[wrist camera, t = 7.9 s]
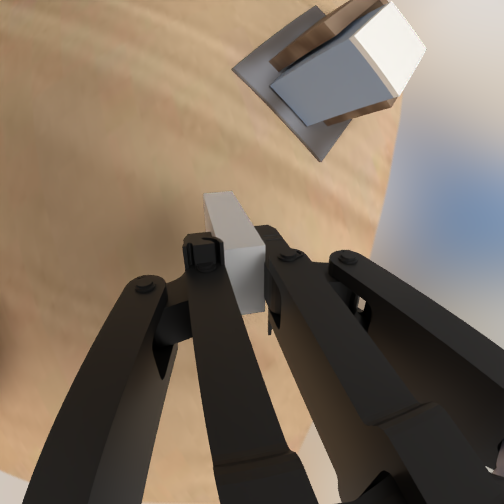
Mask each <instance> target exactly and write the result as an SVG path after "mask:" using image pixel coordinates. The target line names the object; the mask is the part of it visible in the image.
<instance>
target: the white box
mask: <svg viewBox="0 0 504 504" xmlns="http://www.w3.org/2000/svg"><path fill="white" fill-rule="evenodd" d="M425 51H426V47H425V46H424V44H423V43H422V41H421V40H420V38H419V37H418V36H417V34H416V33H415V31H414V30H413V28H412V27H411V26H410V24H409V23H408V22H407V20H406V19H405V18H404V16H403V15H402V14H401V13H400V11H399V10H398V8H397V7H396V6H395V5H394V3H393V2H392V1H391V2H389V3H387V4H385V5H383V6H381V7H379V8H377V9H375V10H373V11H371V12H369V13H368V14H366V15H364V16H362V17H360V18H358V19H357V20H355V21H353V22H351V23H350V24H349V25H348V26H347V27H345V28H344V29H343V30H342V31H341V32H340V33H339V34H337V35H336V36H335V37H333V38H331V39H330V40H328V41H326V42H325V43H323V44H321V45H320V46H318V47H316V48H315V49H313V50H311V51H310V52H308V53H307V54H305V55H304V56H302V57H300V58H299V59H298V60H297V61H296V62H295V63H293V64H292V65H291V66H290V67H289V68H288V69H287V70H286V71H285V72H284V73H283V74H282V75H281V76H280V77H278V78H277V79H276V80H275V81H274V82H273V83H272V84H271V85H270V87H271V88H272V89H273V90H274V91H275V92H276V93H277V94H278V95H279V96H280V97H281V98H282V99H283V100H284V101H285V102H286V103H287V104H288V105H289V107H290V108H291V109H292V110H293V111H294V112H295V113H296V114H297V115H298V116H299V118H300V119H301V120H302V121H303V122H304V123H305V124H306V125H307V126H310V125H313V124H315V123H318V122H321V121H324V120H327V119H329V118H332V117H335V116H338V115H341V114H344V113H347V112H350V111H353V110H356V109H359V108H362V107H366V106H369V105H372V104H375V103H379V102H382V101H385V100H389V99H392V98H395V97H399V96H400V95H401V93H402V91H403V89H404V88H405V86H406V84H407V83H408V81H409V79H410V77H411V76H412V74H413V72H414V70H415V69H416V67H417V65H418V63H419V62H420V60H421V58H422V56H423V55H424V53H425Z"/></svg>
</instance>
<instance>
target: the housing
mask: <svg viewBox="0 0 504 504" xmlns="http://www.w3.org/2000/svg"><path fill="white" fill-rule="evenodd" d="M387 3H389V2H388V1H387V0H350V1H348V2H346V3H345V4H343V5H342V6H340V7H338V8H337V9H335V10H334V11H332V12H331V13H329V14H328V15H325V14H324V13H323V12H322V11H321V10H320V9H319V8H318V7H317V6H316V5H315V6H314V7H312V8H311V9H309V10H308V11H307V12H305V13H304V14H302V15H301V16H299V17H298V18H296V19H295V20H294V21H292V22H291V23H289V24H288V25H287V26H285V27H284V28H283V29H281V30H280V31H279V32H277V33H276V34H275V35H273V36H272V37H271V38H269V39H268V40H267V41H265V42H264V43H263V44H262V45H260V46H259V47H258V48H257V49H255V50H254V51H253V52H252V53H250V54H249V55H248V56H247V57H245V58H244V59H243V60H242V61H241V62H239V63H238V64H237V65H236V66H235V67H234V68H233V69H231V70H232V71H234V72H235V73H236V74H237V75H238V76H239V77H240V78H241V79H242V80H243V81H244V82H245V83H246V84H247V85H248V86H249V87H250V88H251V89H252V90H253V91H254V92H255V93H256V94H257V95H258V96H259V97H260V98H261V99H262V100H263V101H264V102H265V103H266V104H267V105H268V106H269V107H270V108H271V109H272V110H273V111H274V112H275V114H276V115H277V116H278V117H279V118H280V119H281V120H282V121H283V122H284V123H285V124H286V125H287V126H288V127H289V129H290V130H291V131H292V132H293V133H294V134H295V135H296V136H297V137H298V138H299V140H300V141H301V142H302V143H303V144H304V145H305V146H306V147H307V149H308V150H309V151H310V152H311V153H312V154H313V155H314V157H315V158H316V159H317V160H318V161H319V162H322V160H323V159H324V158H325V156H326V155H327V153H328V152H329V151H330V149H331V148H332V146H333V145H334V144H335V142H336V141H337V139H338V138H339V137H340V135H341V134H342V132H343V131H344V130H345V128H346V127H347V125H348V124H349V123H350V121H351V120H352V119H353V118H356V117H359V116H363V115H366V114H369V113H373V112H376V111H380V110H383V109H387V108H391V107H392V105H393V104H394V102H395V100H396V99H397V97H395V98H392V99H389V100H385V101H382V102H379V103H375V104H372V105H369V106H366V107H362V108H359V109H356V110H353V111H350V112H347V113H344V114H341V115H338V116H335V117H332V118H329V119H327V120H324V121H321V122H318V123H315V124H313V125H310V126H307V125H306V124H305V123H304V122H303V121H302V120H301V119H300V118H299V116H298V115H297V114H296V113H295V112H294V111H293V110H292V109H291V108H290V107H289V105H288V104H287V103H286V102H285V101H284V100H283V99H282V98H281V97H280V96H279V95H278V94H277V93H276V92H275V91H274V90H273V89H272V88H271V87H270V85H271V84H272V83H273V82H274V81H275V80H276V79H277V78H278V77H280V76H281V75H282V74H283V73H284V72H285V71H286V70H287V69H288V68H289V67H290V66H291V65H292V64H293V63H295V62H296V61H297V60H298V59H299V58H300V57H302V56H304V55H305V54H307V53H308V52H310V51H311V50H313V49H315V48H316V47H318V46H320V45H321V44H323V43H325V42H326V41H328V40H330V39H331V38H333V37H335V36H336V35H337V34H339V33H340V32H341V31H342V30H343V29H344V28H345V27H347V26H348V25H349V24H350V23H351V22H353V21H355V20H357V19H358V18H360V17H362V16H364V15H366V14H368V13H369V12H371V11H373V10H375V9H377V8H379V7H381V6H383V5H385V4H387Z"/></svg>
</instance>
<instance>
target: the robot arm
mask: <svg viewBox="0 0 504 504" xmlns="http://www.w3.org/2000/svg"><path fill="white" fill-rule="evenodd" d="M203 202H204V216H205V229H206V232H203V233H194V234H188V235H187V236H186V237H185V238H184V240H183V241H184V244H183V247H182V248H183V256H184V264H185V273H184V274H183V275H182V276H181V277H180V278H178V279H176V280H174V281H172V282H169V283H166V282H165V281H164V279H163V278H161V277H159V276H154V275H143V276H141V277H137V278H135V279H133V280H132V281H130V282H129V283H128V284H127V285H126V287H125V288H124V290H123V292H122V293H121V295H120V297H119V298H118V300H117V302H116V303H115V305H114V307H113V309H112V310H111V312H110V314H109V316H108V317H107V319H106V321H105V323H104V325H103V326H102V328H101V330H100V332H99V334H98V335H97V337H96V339H95V341H94V343H93V345H92V346H91V348H90V350H89V352H88V354H87V356H86V358H85V360H84V362H83V364H82V366H81V367H80V369H79V371H78V373H77V375H76V377H75V379H74V381H73V383H72V385H71V387H70V390H69V392H68V394H67V396H66V398H65V400H64V402H63V404H62V406H61V408H60V411H59V413H58V415H57V417H56V419H55V422H54V424H53V426H52V428H51V431H50V433H49V435H48V437H47V440H46V442H45V445H44V447H43V449H42V452H41V454H40V457H39V459H38V462H37V464H36V467H35V469H34V472H33V475H32V477H31V480H30V483H29V485H28V488H27V491H26V494H25V496H24V499H23V502H22V504H141V503H142V498H143V493H144V488H145V484H146V479H147V474H148V469H149V465H150V460H151V456H152V451H153V447H154V443H155V438H156V434H157V430H158V425H159V421H160V417H161V413H162V409H163V405H164V401H165V396H166V392H167V389H168V385H169V381H170V377H171V373H172V369H173V365H174V361H175V358H176V354H177V350H178V343H179V342H181V341H184V340H187V339H189V338H192V337H193V344H194V351H195V359H196V366H197V373H198V380H199V386H200V393H201V399H202V405H203V411H204V417H205V423H206V428H207V434H208V439H209V445H210V450H211V455H212V461H213V470H214V476H215V481H216V486H217V491H218V495H219V500H220V504H318V501H317V499H316V496H315V494H314V491H313V489H312V486H311V484H310V481H309V479H308V476H307V474H306V472H305V469H304V466H303V464H302V462H301V460H300V458H299V457H298V455H297V454H296V452H293V451H291V450H290V449H289V447H288V445H287V443H286V441H285V438H284V435H283V433H282V430H281V427H280V424H279V422H278V419H277V416H276V413H275V411H274V408H273V405H272V402H271V399H270V397H269V394H268V391H267V388H266V385H265V382H264V380H263V377H262V374H261V371H260V368H259V365H258V362H257V360H256V357H255V354H254V351H253V348H252V345H251V342H250V339H249V336H248V333H247V330H246V327H245V324H244V321H243V318H242V315H244V314H251V313H258V312H264V311H265V300H266V302H267V305H268V335H271V330H272V329H273V331H274V333H275V335H276V338H277V340H278V342H279V345H280V347H281V349H282V351H283V354H284V356H285V358H286V361H287V363H288V365H289V368H290V370H291V372H292V374H293V377H294V379H295V381H296V384H297V386H298V388H299V390H300V393H301V395H302V397H303V400H304V402H305V404H306V406H307V409H308V411H309V413H310V415H311V418H312V420H313V422H314V424H315V427H316V429H317V431H318V433H319V436H320V438H321V440H322V442H323V445H324V447H325V449H326V451H327V453H328V456H329V458H330V460H331V463H332V465H333V467H334V469H335V471H336V474H337V478H338V491H339V496H340V498H341V501H342V503H338V504H504V350H503V349H502V348H501V347H499V346H498V345H496V344H495V343H494V342H492V341H491V340H490V339H488V338H487V337H485V336H484V335H483V334H481V333H480V332H478V331H477V330H475V329H474V328H473V327H471V326H470V325H468V324H467V323H466V322H464V321H463V320H461V319H460V318H458V317H457V316H455V315H454V314H452V313H451V312H449V311H448V310H446V309H445V308H444V307H442V306H441V305H439V304H438V303H436V302H435V301H433V300H432V299H430V298H429V297H427V296H426V295H424V294H423V293H421V292H419V291H418V290H416V289H415V288H413V287H412V286H410V285H409V284H407V283H405V282H404V281H402V280H401V279H399V278H398V277H396V276H395V275H393V274H391V273H390V272H388V271H387V270H385V269H383V268H382V267H380V266H379V265H377V264H376V263H374V262H372V261H371V260H369V259H368V258H366V257H364V256H363V255H361V254H359V253H356V252H353V251H350V250H341V251H336V252H333V253H332V254H331V255H330V257H329V263H321V262H312V261H311V260H310V259H309V258H308V256H307V255H306V254H305V253H304V252H302V251H300V250H297V249H292V248H290V247H289V246H288V244H287V243H286V242H285V240H284V239H283V238H282V236H281V235H280V234H279V232H278V231H277V230H276V229H275V228H273V227H271V226H269V225H261V226H253V224H252V222H251V221H250V219H249V218H248V216H247V214H246V213H245V211H244V210H243V208H242V206H241V205H240V203H239V201H238V200H237V198H236V197H235V195H234V193H233V192H232V191H226V192H215V193H204V194H203ZM359 297H361V298H362V299H364V300H365V301H366V303H365V308H364V310H361V309H359V308H358V303H359ZM485 466H487V467H489V468H491V469H493V470H494V471H493V472H492V473H490V472H489V471H488V470H487V468H486V467H485Z"/></svg>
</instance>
